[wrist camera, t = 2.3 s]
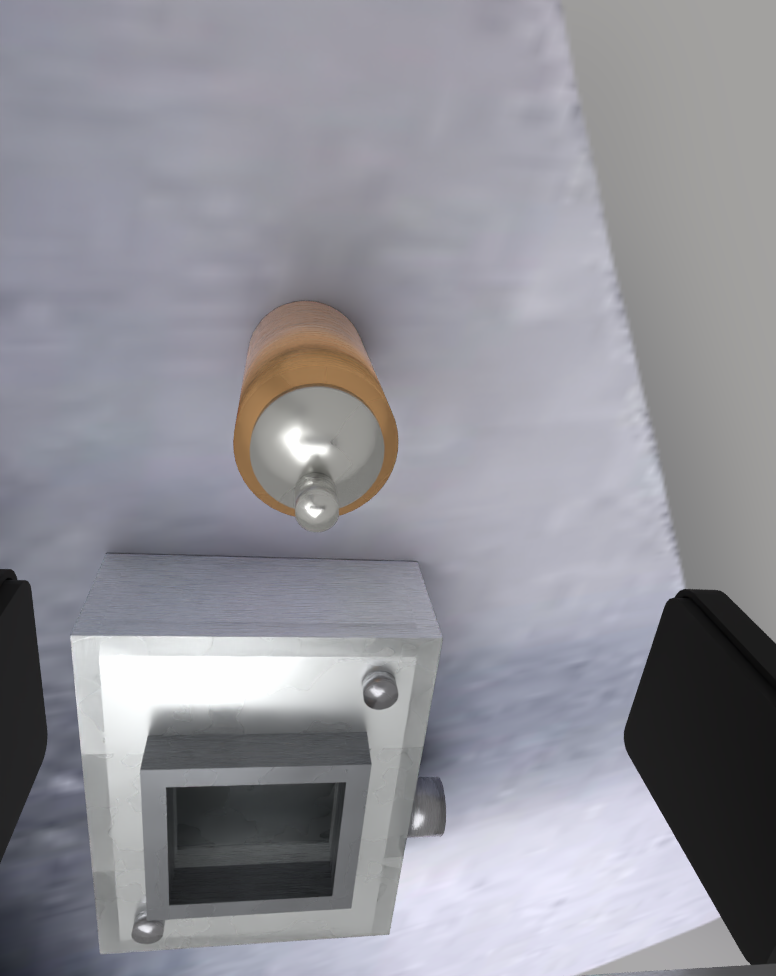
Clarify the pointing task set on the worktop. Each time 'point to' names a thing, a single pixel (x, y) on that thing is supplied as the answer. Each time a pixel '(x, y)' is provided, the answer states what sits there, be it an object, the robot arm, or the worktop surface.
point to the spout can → (312, 417)
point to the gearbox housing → (253, 745)
